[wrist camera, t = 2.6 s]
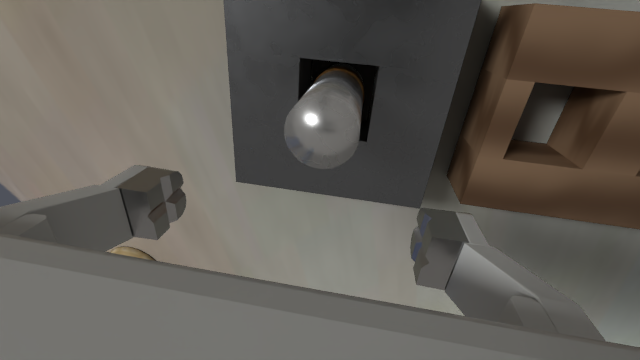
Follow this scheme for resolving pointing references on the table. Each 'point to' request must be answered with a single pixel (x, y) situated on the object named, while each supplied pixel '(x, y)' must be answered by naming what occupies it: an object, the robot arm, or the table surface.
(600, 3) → the table surface
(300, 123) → the metal vial
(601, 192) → the walnut rack
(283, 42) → the socket block
